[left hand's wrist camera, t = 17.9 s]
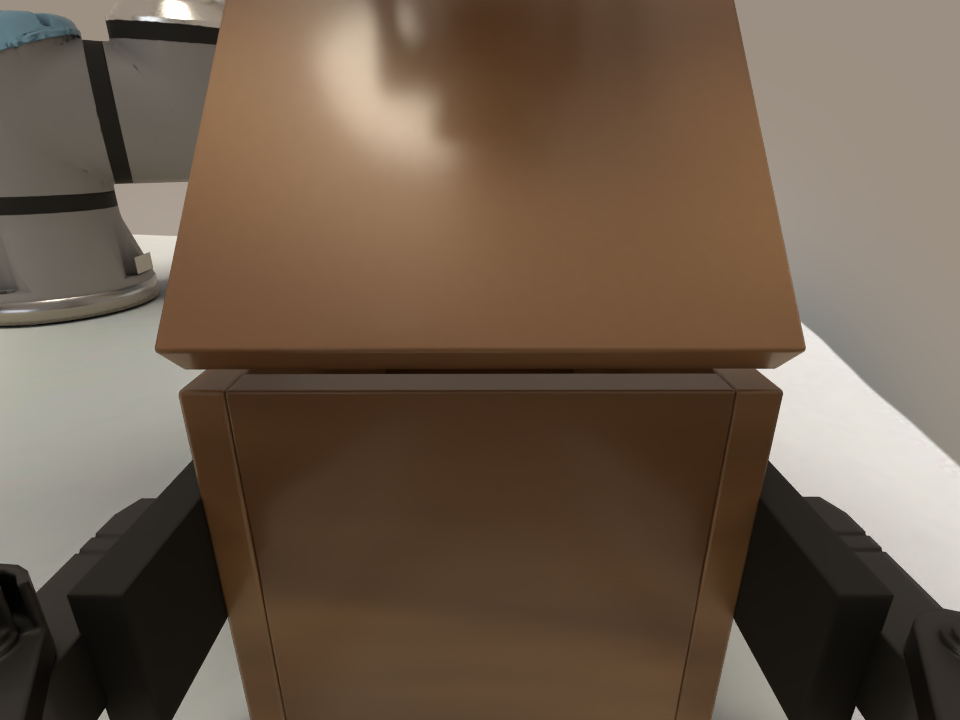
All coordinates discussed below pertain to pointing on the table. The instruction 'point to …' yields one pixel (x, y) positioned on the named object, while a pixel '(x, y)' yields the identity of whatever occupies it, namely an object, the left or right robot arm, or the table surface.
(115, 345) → the table surface
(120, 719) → the left robot arm
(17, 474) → the table surface
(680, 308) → the lid
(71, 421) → the table surface
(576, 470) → the chest
